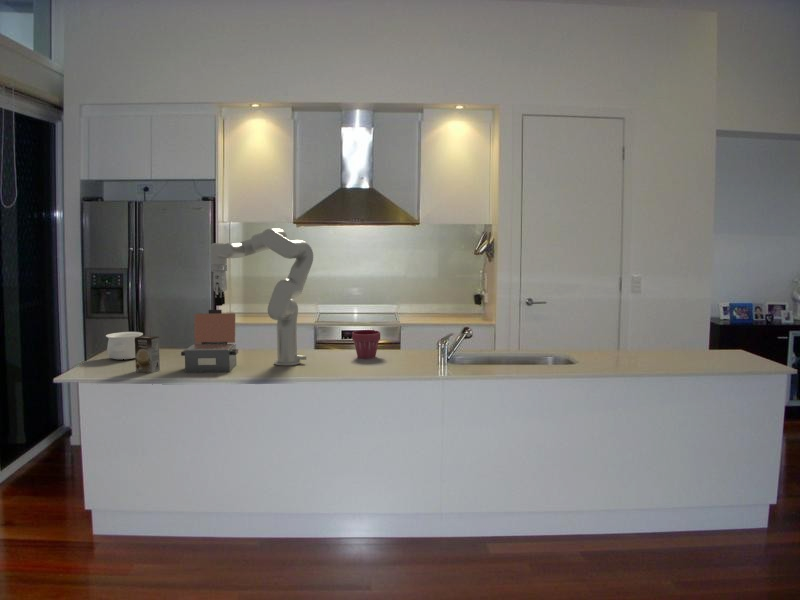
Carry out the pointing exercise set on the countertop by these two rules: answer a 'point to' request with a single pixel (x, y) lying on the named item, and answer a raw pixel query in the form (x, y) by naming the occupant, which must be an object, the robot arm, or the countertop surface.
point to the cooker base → (210, 357)
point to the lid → (215, 327)
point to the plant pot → (366, 343)
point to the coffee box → (147, 354)
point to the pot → (122, 345)
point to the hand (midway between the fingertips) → (220, 304)
